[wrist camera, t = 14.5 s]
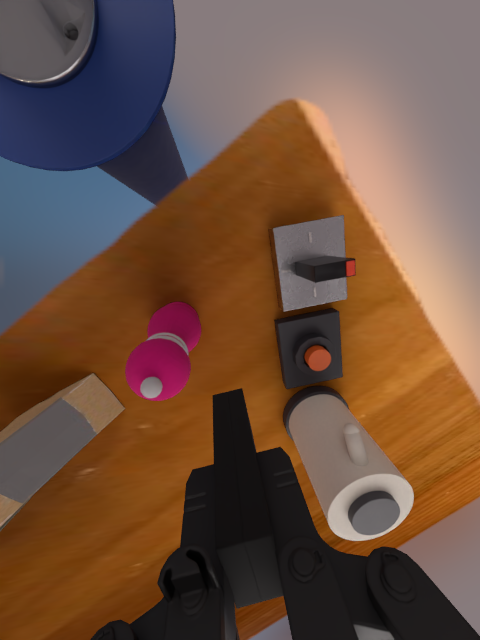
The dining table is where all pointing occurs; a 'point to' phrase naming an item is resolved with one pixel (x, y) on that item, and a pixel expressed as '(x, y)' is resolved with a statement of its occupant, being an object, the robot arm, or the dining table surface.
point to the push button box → (308, 346)
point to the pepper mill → (164, 353)
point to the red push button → (317, 358)
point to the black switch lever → (325, 268)
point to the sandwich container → (50, 439)
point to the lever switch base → (304, 245)
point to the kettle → (346, 466)
